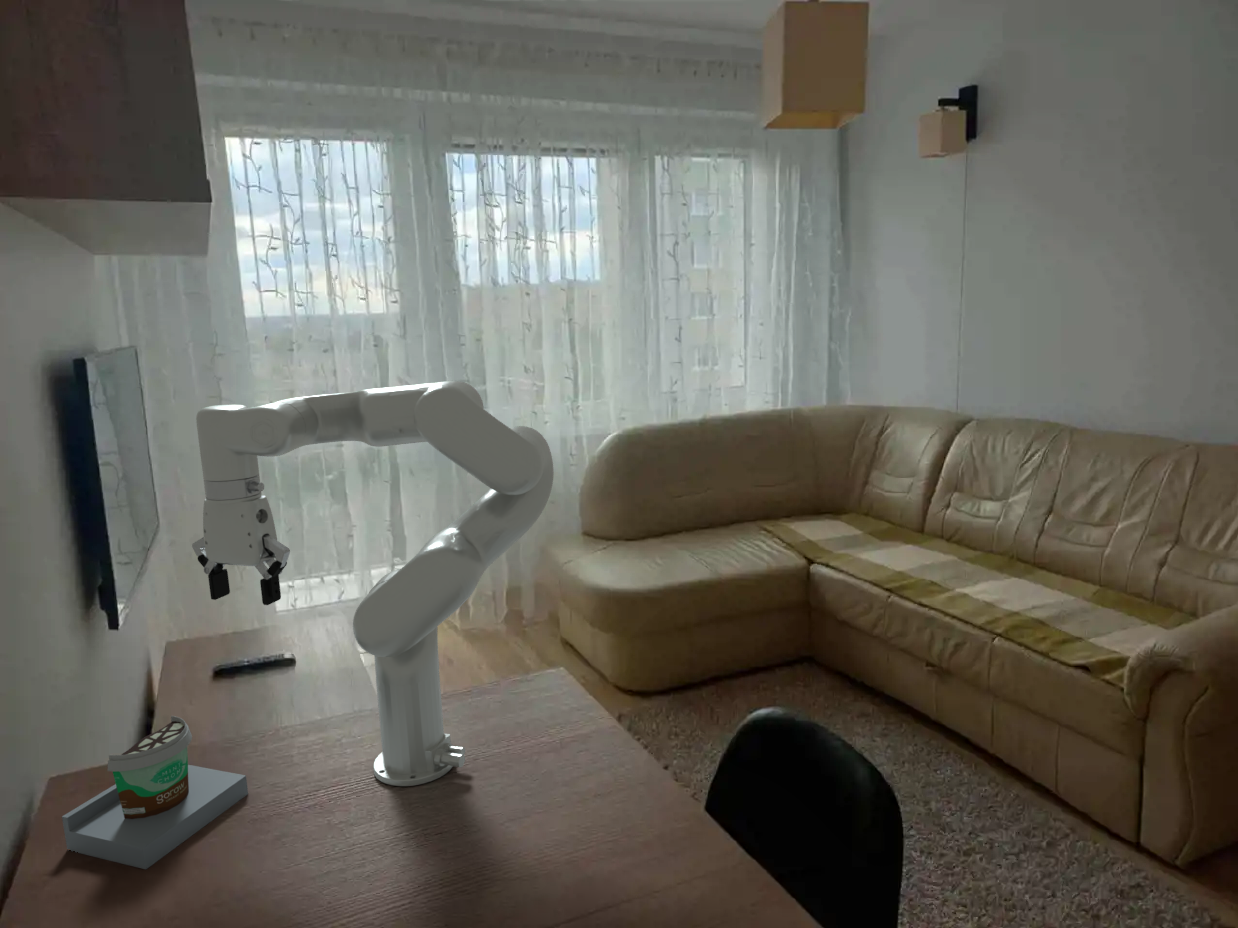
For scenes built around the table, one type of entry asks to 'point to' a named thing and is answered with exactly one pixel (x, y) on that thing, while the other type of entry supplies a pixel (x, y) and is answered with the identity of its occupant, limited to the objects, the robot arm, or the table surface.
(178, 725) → the food container
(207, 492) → the robot arm
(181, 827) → the stand
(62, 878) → the table surface
